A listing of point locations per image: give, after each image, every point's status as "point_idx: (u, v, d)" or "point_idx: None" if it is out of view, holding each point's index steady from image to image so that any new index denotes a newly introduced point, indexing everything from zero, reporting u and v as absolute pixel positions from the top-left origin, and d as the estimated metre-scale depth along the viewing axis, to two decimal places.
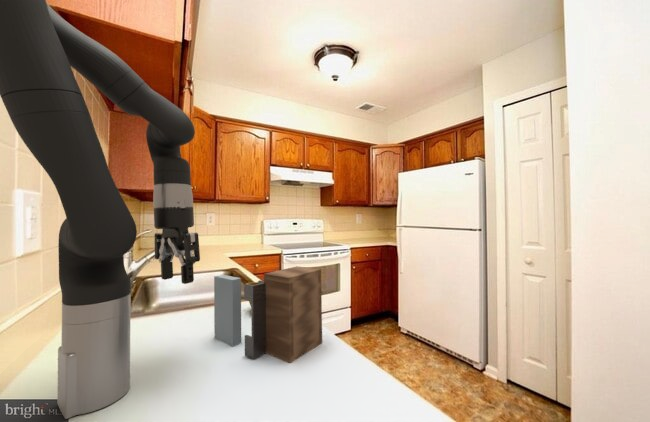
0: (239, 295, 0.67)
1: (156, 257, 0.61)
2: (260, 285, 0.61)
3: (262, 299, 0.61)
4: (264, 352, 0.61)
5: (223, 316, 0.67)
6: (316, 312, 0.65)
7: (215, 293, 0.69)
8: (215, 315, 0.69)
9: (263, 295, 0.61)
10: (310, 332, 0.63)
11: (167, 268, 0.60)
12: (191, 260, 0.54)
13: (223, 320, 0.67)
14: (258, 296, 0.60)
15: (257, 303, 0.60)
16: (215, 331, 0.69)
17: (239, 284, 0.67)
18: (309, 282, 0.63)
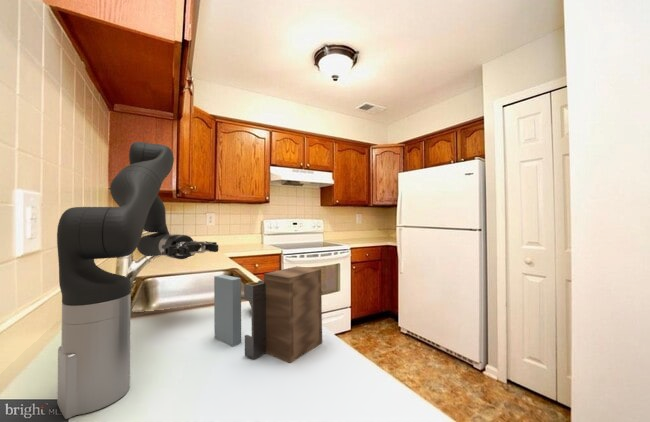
0: (239, 295, 0.67)
1: (171, 246, 0.74)
2: (260, 285, 0.61)
3: (262, 299, 0.61)
4: (264, 352, 0.61)
5: (223, 316, 0.67)
6: (316, 312, 0.65)
7: (215, 293, 0.69)
8: (215, 315, 0.69)
9: (263, 295, 0.61)
10: (310, 332, 0.63)
11: None
12: None
13: (223, 320, 0.67)
14: (258, 296, 0.60)
15: (257, 303, 0.60)
16: (215, 331, 0.69)
17: (239, 284, 0.67)
18: (309, 282, 0.63)
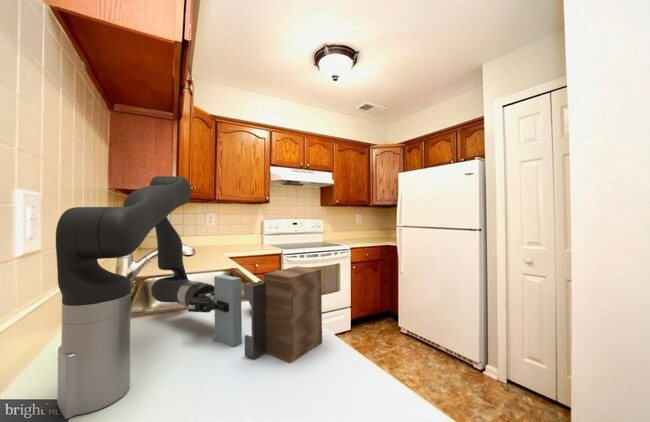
0: (239, 295, 0.67)
1: (209, 301, 0.67)
2: (260, 285, 0.61)
3: (262, 299, 0.61)
4: (264, 352, 0.61)
5: (223, 316, 0.67)
6: (316, 312, 0.65)
7: (215, 293, 0.69)
8: (215, 315, 0.69)
9: (263, 295, 0.61)
10: (310, 332, 0.63)
11: None
12: None
13: (223, 320, 0.67)
14: (258, 296, 0.60)
15: (257, 303, 0.60)
16: (215, 331, 0.69)
17: (239, 284, 0.67)
18: (309, 282, 0.63)
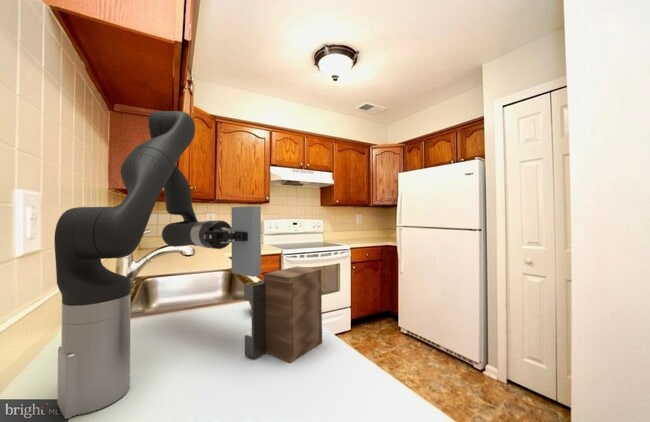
0: (259, 224, 0.63)
1: (226, 231, 0.63)
2: (260, 285, 0.61)
3: (262, 299, 0.61)
4: (264, 352, 0.61)
5: (241, 247, 0.63)
6: (316, 312, 0.65)
7: (232, 225, 0.65)
8: (232, 248, 0.65)
9: (263, 295, 0.61)
10: (310, 332, 0.63)
11: None
12: None
13: (241, 251, 0.63)
14: (258, 296, 0.60)
15: (257, 303, 0.60)
16: (232, 265, 0.65)
17: (259, 212, 0.63)
18: (309, 282, 0.63)
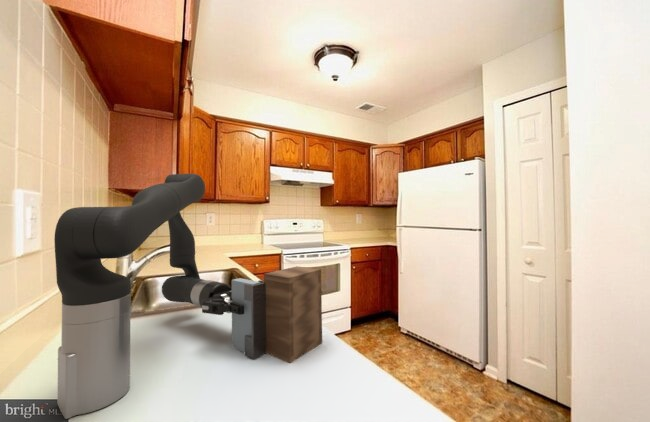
0: None
1: (222, 303, 0.62)
2: (260, 285, 0.61)
3: (262, 299, 0.61)
4: (264, 352, 0.61)
5: (241, 323, 0.63)
6: (316, 312, 0.65)
7: (233, 298, 0.65)
8: (233, 321, 0.65)
9: (263, 295, 0.61)
10: (310, 332, 0.63)
11: None
12: None
13: (241, 327, 0.63)
14: (258, 296, 0.60)
15: (257, 303, 0.60)
16: (233, 339, 0.65)
17: None
18: (309, 282, 0.63)
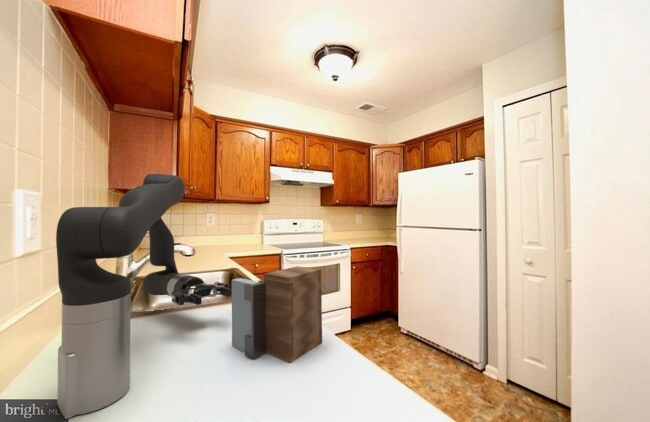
0: None
1: (182, 294, 0.69)
2: (260, 285, 0.61)
3: (262, 299, 0.61)
4: (264, 352, 0.61)
5: (242, 323, 0.63)
6: (316, 312, 0.65)
7: (233, 298, 0.65)
8: (233, 321, 0.65)
9: (263, 295, 0.61)
10: (310, 332, 0.63)
11: None
12: None
13: (241, 327, 0.63)
14: (258, 296, 0.60)
15: (257, 303, 0.60)
16: (233, 339, 0.65)
17: None
18: (309, 282, 0.63)
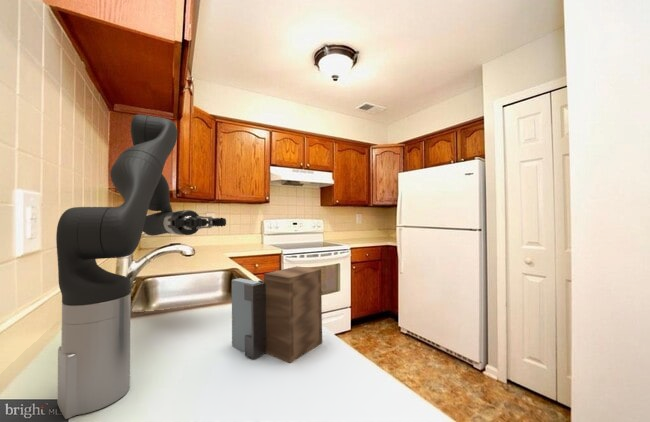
0: None
1: (178, 218, 0.71)
2: (260, 285, 0.61)
3: (262, 299, 0.61)
4: (264, 352, 0.61)
5: (242, 323, 0.63)
6: (316, 312, 0.65)
7: (233, 298, 0.65)
8: (233, 321, 0.65)
9: (263, 295, 0.61)
10: (310, 332, 0.63)
11: None
12: None
13: (241, 327, 0.63)
14: (258, 296, 0.60)
15: (257, 303, 0.60)
16: (233, 339, 0.65)
17: None
18: (309, 282, 0.63)
